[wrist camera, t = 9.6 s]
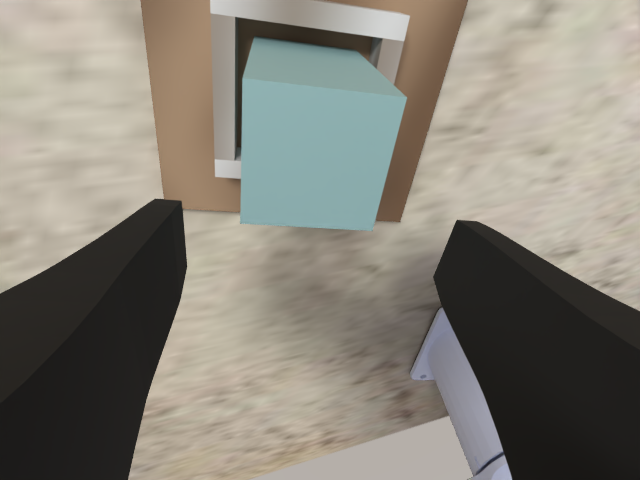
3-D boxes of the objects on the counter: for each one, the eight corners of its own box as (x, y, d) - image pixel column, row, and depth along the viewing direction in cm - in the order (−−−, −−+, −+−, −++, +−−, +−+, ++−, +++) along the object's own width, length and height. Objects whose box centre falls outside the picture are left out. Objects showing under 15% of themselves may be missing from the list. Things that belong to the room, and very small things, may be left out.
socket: (474, -61, 14) (508, -66, 12) (394, 212, 21) (408, 238, 19) (134, -128, 12) (106, -148, 10) (169, 197, 19) (157, 224, 17)
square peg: (356, 49, 15) (407, 97, 9) (339, 145, 17) (372, 230, 11) (254, 35, 14) (242, 77, 9) (251, 137, 16) (240, 223, 11)
